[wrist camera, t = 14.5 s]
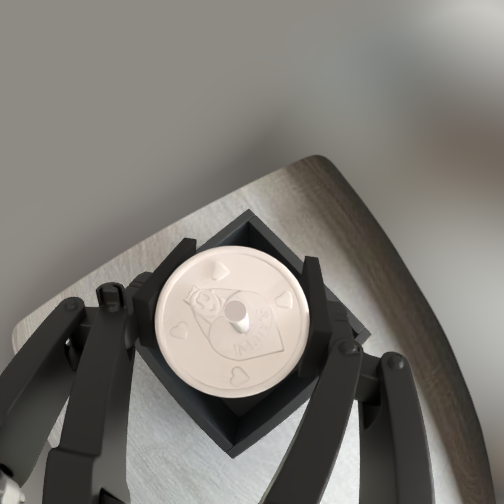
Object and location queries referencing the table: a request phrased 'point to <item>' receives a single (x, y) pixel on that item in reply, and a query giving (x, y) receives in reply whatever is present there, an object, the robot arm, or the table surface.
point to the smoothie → (232, 321)
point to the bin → (264, 403)
